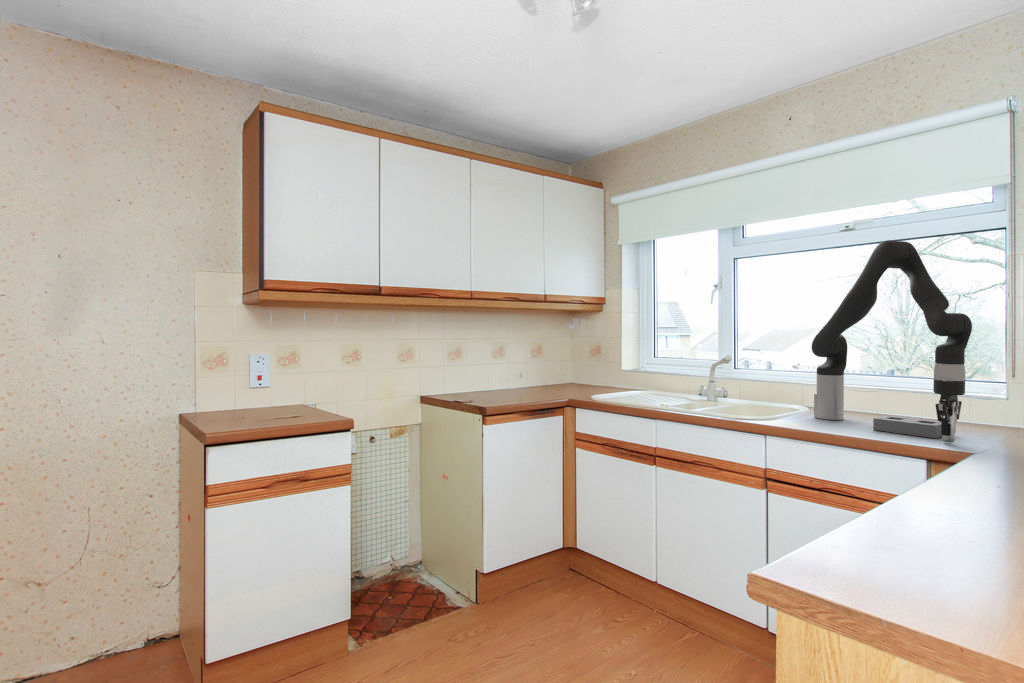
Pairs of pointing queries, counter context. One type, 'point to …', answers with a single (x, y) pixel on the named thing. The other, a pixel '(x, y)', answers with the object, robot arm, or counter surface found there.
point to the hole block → (908, 426)
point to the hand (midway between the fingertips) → (948, 434)
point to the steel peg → (952, 436)
